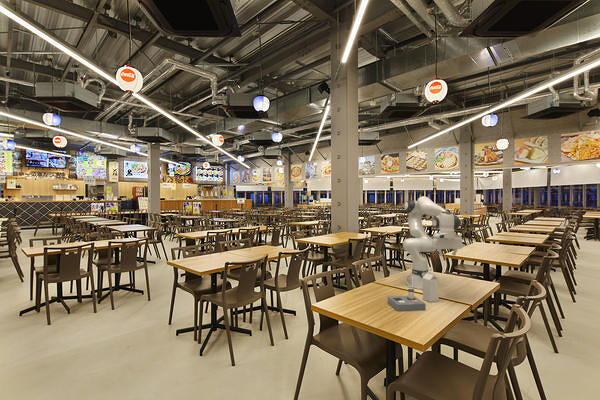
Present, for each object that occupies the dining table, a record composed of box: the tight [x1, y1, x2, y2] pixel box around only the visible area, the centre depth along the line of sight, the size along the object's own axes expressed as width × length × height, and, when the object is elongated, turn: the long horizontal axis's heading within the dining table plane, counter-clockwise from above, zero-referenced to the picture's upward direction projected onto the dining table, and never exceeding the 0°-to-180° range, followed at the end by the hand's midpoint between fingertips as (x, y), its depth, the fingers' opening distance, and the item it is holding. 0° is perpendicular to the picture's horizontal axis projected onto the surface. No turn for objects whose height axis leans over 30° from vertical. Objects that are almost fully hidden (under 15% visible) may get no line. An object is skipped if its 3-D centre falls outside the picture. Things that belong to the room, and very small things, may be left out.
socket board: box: [387, 295, 427, 312], centre depth 187 cm, size 16×18×4 cm
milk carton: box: [422, 271, 440, 303], centre depth 198 cm, size 7×7×19 cm
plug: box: [407, 288, 415, 300], centre depth 190 cm, size 4×4×10 cm
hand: (447, 255), depth 197 cm, fingers open, 8 cm apart
